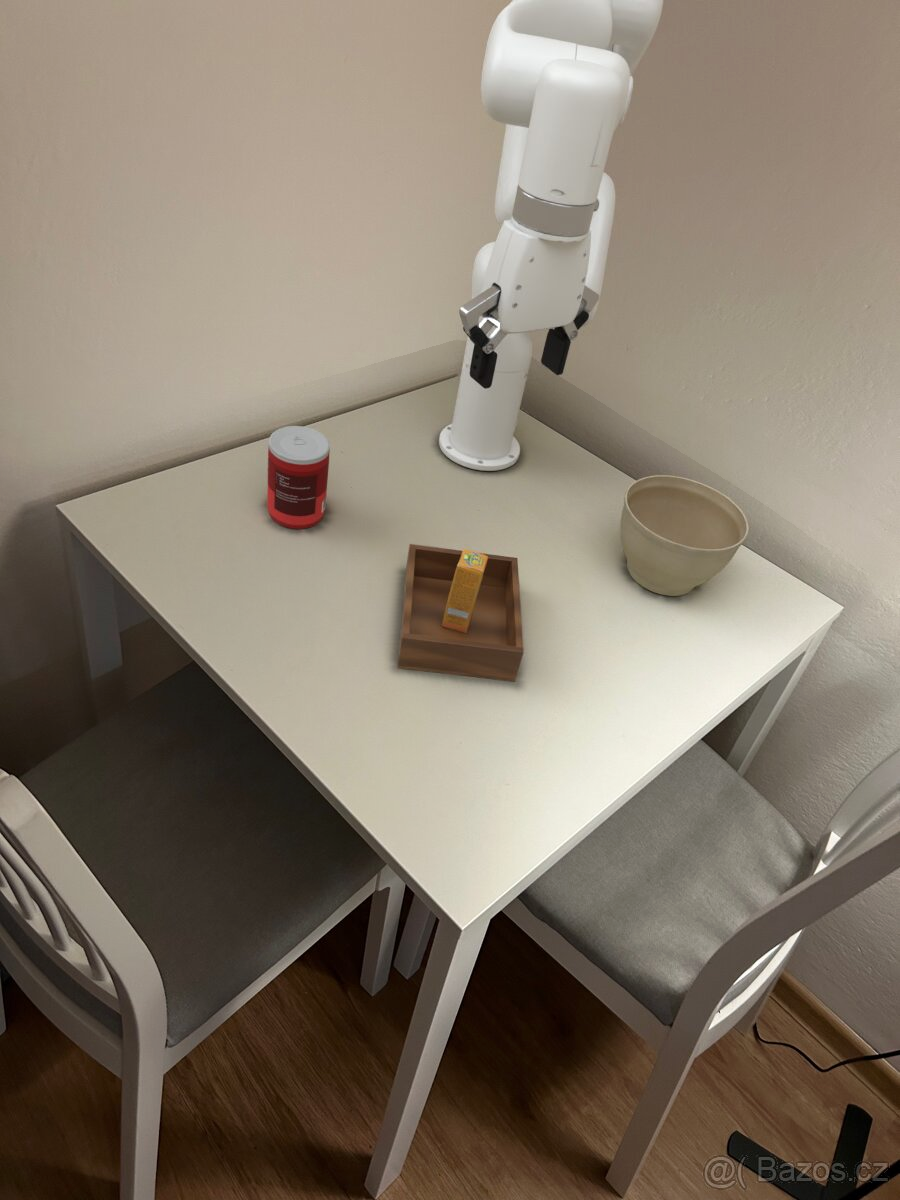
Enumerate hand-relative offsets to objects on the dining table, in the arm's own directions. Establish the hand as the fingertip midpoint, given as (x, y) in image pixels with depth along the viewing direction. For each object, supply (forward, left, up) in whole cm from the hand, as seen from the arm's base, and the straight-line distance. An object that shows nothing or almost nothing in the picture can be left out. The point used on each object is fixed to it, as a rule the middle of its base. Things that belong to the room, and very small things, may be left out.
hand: (516, 375), depth 96 cm
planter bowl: (-6, +26, -29) cm, 40 cm away
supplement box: (+9, -2, -29) cm, 30 cm away
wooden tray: (+9, -2, -29) cm, 30 cm away
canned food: (-9, -24, -29) cm, 39 cm away
